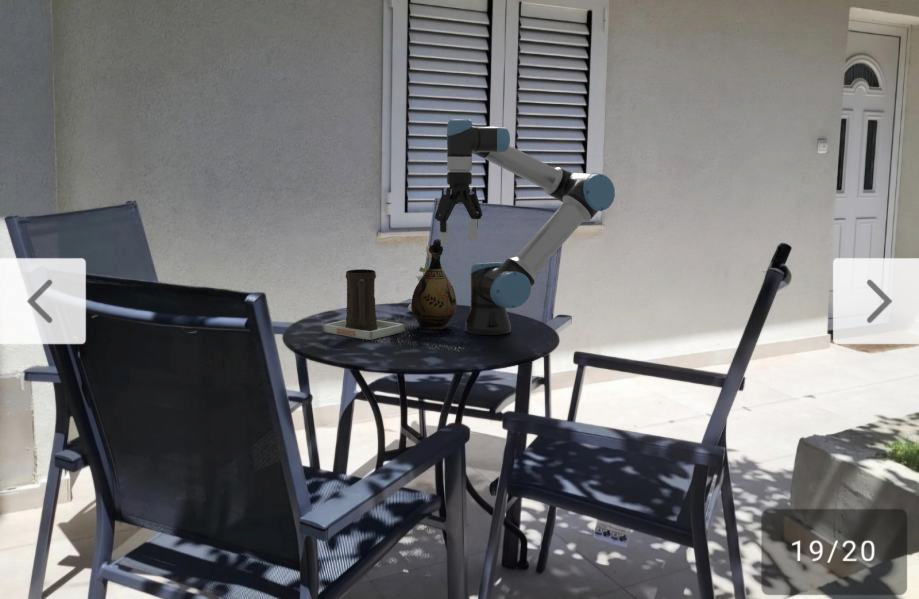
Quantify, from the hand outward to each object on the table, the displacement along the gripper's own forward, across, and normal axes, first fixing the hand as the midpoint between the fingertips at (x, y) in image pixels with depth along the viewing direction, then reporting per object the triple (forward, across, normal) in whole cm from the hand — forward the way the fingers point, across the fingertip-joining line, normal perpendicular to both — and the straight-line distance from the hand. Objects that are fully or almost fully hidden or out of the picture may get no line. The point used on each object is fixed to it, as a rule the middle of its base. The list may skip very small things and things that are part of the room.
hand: (459, 241), depth 260 cm
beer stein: (+31, +8, -34) cm, 47 cm away
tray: (+31, +7, -35) cm, 47 cm away
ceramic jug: (+32, -14, -23) cm, 42 cm away
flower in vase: (+32, -34, -45) cm, 65 cm away
